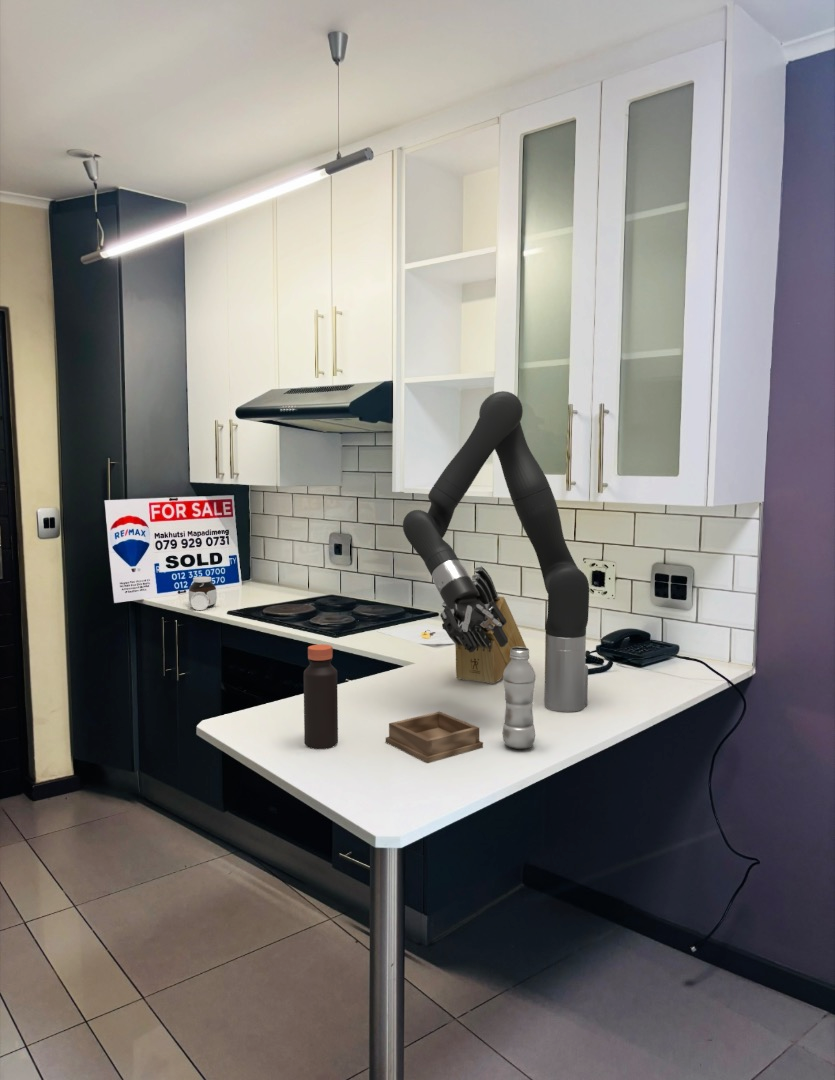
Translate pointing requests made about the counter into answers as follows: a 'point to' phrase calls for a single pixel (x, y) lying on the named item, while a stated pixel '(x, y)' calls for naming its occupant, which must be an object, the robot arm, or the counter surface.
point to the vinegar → (320, 699)
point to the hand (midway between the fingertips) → (489, 647)
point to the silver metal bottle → (519, 700)
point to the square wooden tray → (434, 736)
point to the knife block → (486, 638)
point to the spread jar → (202, 593)
